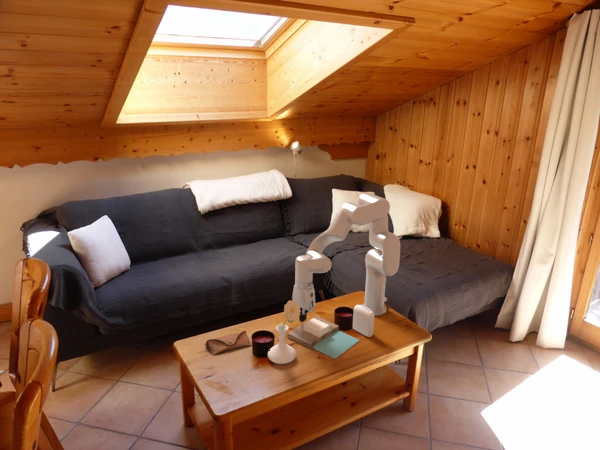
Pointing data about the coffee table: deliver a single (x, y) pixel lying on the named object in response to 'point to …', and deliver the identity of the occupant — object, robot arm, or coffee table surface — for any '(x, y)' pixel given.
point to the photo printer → (363, 320)
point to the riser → (308, 338)
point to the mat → (336, 344)
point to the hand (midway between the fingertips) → (302, 320)
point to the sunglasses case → (228, 343)
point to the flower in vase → (282, 350)
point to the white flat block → (316, 327)
